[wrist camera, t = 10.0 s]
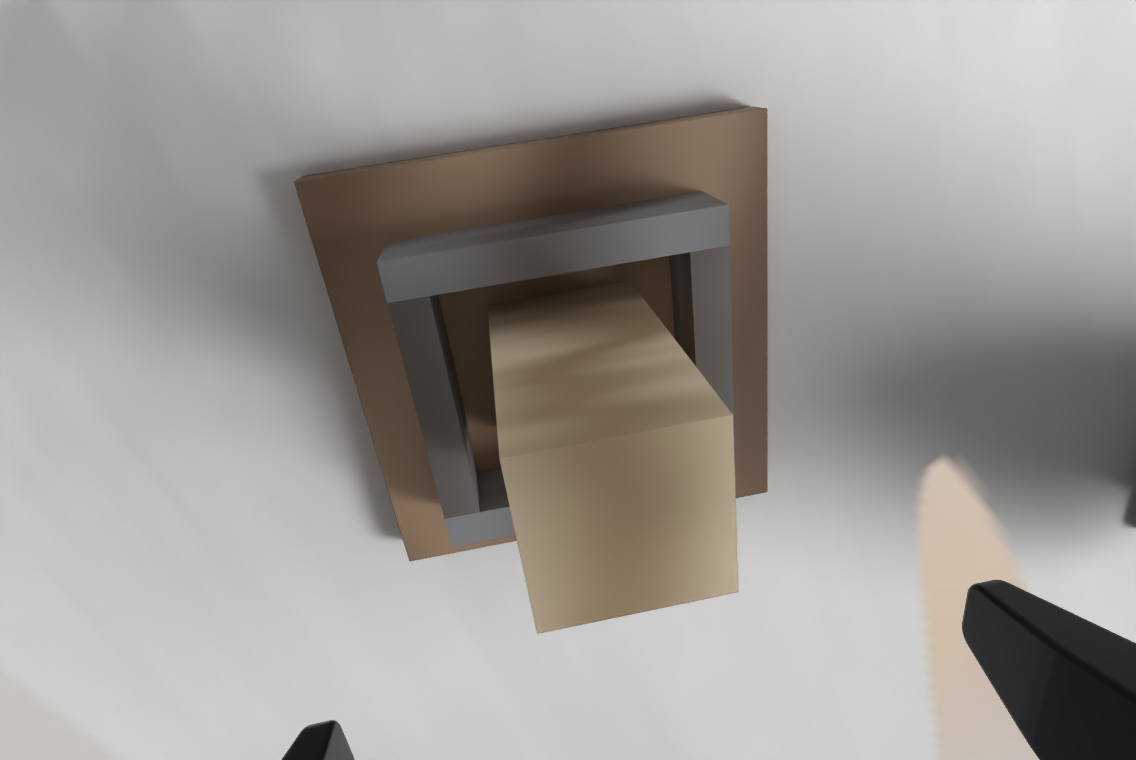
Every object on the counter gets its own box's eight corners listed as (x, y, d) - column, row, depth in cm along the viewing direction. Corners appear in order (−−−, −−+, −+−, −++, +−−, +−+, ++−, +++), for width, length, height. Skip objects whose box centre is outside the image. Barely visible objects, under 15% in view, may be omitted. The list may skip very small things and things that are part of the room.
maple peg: (629, 280, 18) (732, 414, 11) (642, 406, 20) (738, 592, 13) (487, 305, 18) (499, 459, 11) (512, 430, 20) (537, 633, 13)
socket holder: (752, 106, 18) (802, 113, 15) (755, 475, 23) (793, 528, 20) (303, 176, 17) (272, 195, 14) (411, 541, 22) (404, 606, 20)
